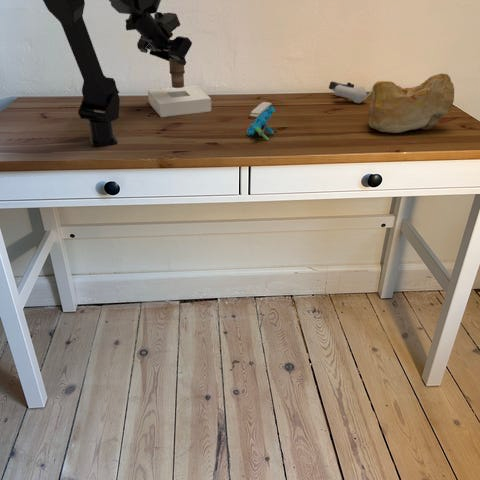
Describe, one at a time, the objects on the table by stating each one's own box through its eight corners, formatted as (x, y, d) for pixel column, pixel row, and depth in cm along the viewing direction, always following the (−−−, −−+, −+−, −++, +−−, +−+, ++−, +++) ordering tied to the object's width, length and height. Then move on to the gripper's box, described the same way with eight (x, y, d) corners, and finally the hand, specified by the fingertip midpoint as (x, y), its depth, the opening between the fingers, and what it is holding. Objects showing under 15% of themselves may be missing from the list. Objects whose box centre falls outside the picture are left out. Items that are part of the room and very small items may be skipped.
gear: (248, 121, 133) (274, 99, 127) (263, 135, 135) (288, 114, 129) (240, 139, 125) (266, 117, 119) (255, 154, 127) (282, 133, 121)
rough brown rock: (426, 117, 144) (434, 66, 137) (454, 132, 129) (464, 75, 122) (353, 123, 142) (357, 71, 135) (373, 137, 127) (378, 80, 120)
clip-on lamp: (375, 104, 163) (326, 92, 161) (382, 85, 160) (332, 73, 158) (385, 111, 152) (333, 98, 150) (393, 91, 150) (339, 78, 147)
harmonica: (263, 106, 151) (263, 100, 150) (272, 107, 150) (273, 101, 149) (248, 119, 140) (248, 113, 139) (257, 121, 139) (257, 114, 138)
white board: (211, 111, 145) (210, 98, 143) (160, 117, 140) (159, 103, 138) (195, 97, 158) (195, 85, 155) (148, 102, 152) (147, 90, 150)
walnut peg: (187, 87, 144) (184, 42, 137) (172, 88, 143) (169, 43, 136) (183, 83, 148) (180, 39, 141) (168, 85, 146) (165, 40, 139)
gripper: (185, 5, 125) (214, 44, 138) (140, 0, 135) (171, 36, 148) (165, 41, 124) (196, 76, 137) (122, 33, 134) (155, 66, 147)
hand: (179, 62), depth 142 cm, fingers closed on walnut peg, 4 cm apart
